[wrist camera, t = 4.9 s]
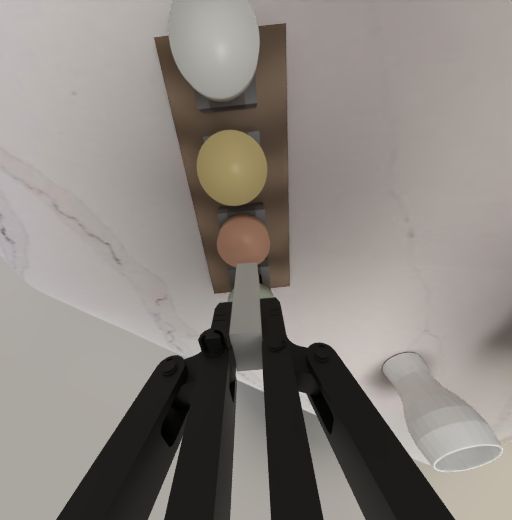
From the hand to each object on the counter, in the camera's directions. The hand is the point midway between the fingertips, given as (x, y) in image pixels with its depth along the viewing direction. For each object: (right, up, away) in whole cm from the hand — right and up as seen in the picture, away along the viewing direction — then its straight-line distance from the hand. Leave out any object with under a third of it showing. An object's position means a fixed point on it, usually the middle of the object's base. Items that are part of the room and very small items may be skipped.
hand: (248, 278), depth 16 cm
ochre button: (-1, +11, +4) cm, 12 cm away
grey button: (-2, +17, +1) cm, 17 cm away
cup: (+30, -20, +28) cm, 46 cm away
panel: (-1, +10, +9) cm, 13 cm away
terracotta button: (-1, +5, +9) cm, 11 cm away
